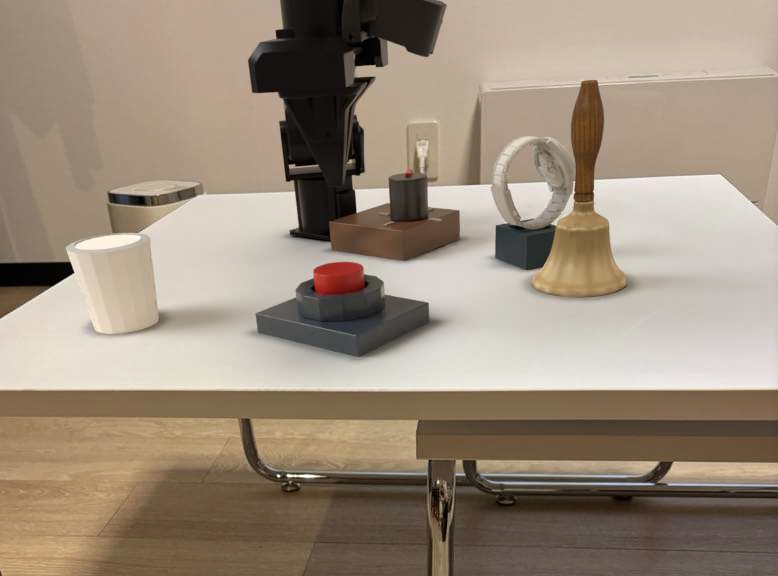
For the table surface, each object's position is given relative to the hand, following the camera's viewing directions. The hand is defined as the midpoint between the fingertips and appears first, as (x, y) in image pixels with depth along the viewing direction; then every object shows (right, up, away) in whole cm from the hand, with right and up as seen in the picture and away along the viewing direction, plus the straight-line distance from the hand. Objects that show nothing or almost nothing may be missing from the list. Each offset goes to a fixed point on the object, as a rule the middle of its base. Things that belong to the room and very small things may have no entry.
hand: (336, 185), depth 63 cm
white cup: (-19, -8, +9) cm, 23 cm away
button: (0, -7, +3) cm, 8 cm away
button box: (0, -10, +4) cm, 11 cm away
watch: (+18, 0, +18) cm, 26 cm away
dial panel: (+5, +5, +26) cm, 27 cm away
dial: (+7, +7, +23) cm, 25 cm away
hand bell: (+21, -5, +10) cm, 24 cm away
